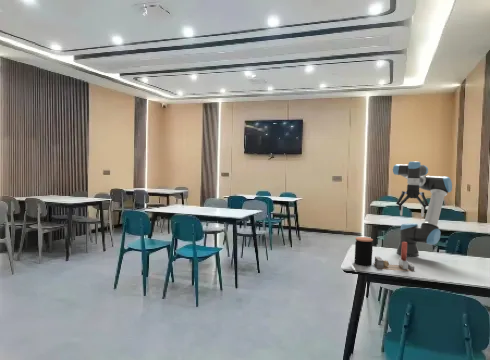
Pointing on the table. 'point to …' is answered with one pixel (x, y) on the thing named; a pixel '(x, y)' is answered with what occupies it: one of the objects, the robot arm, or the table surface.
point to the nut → (385, 263)
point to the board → (391, 266)
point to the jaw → (403, 256)
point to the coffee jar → (363, 251)
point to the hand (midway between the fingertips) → (411, 215)
